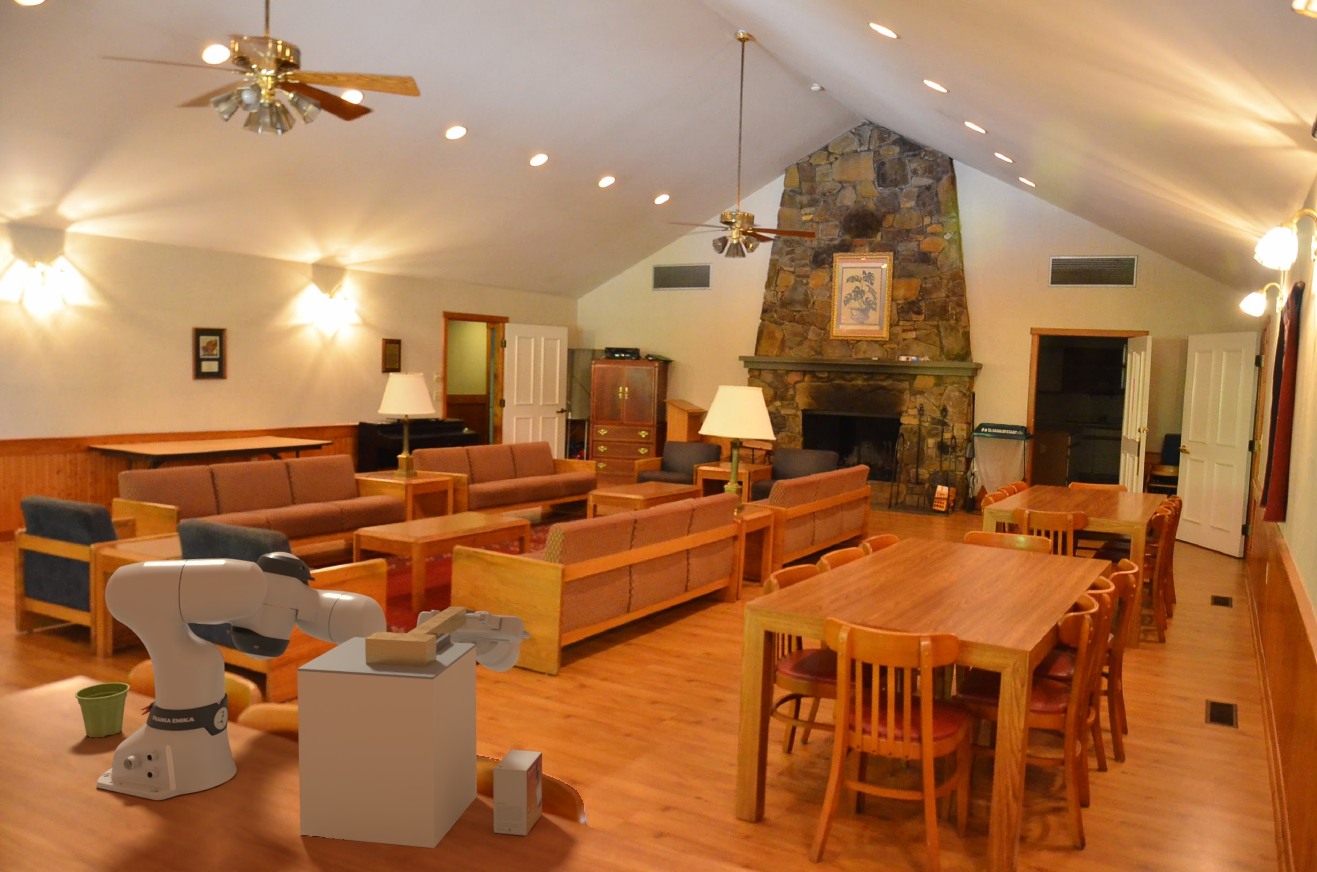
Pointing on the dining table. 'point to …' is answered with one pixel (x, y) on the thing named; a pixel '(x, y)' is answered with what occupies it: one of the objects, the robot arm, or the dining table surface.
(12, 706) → the dining table surface
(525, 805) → the small box
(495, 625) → the robot arm
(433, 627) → the wooden t-shaped block
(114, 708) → the plant pot
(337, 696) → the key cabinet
